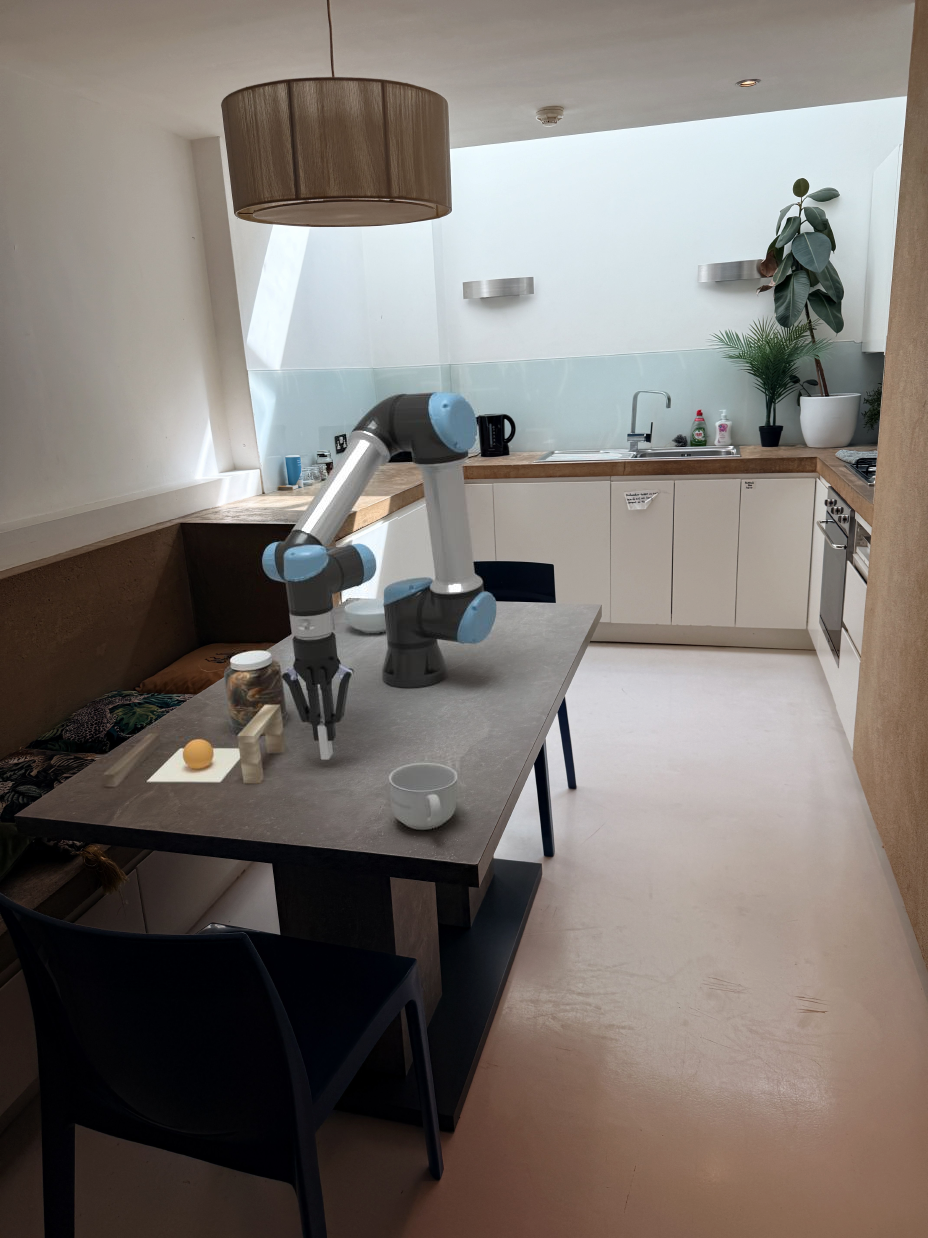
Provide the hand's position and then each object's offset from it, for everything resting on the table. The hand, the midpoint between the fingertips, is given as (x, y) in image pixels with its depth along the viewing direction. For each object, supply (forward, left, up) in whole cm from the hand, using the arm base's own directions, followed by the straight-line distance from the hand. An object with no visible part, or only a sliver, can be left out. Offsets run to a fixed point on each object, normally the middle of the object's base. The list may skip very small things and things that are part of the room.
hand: (326, 756), depth 160 cm
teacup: (-22, +21, -2) cm, 30 cm away
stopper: (+38, 0, -2) cm, 38 cm away
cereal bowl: (+10, -86, -2) cm, 87 cm away
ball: (+24, +1, +1) cm, 24 cm away
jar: (+20, -19, -2) cm, 28 cm away
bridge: (+12, 0, -2) cm, 12 cm away
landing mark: (+25, 0, -2) cm, 25 cm away
